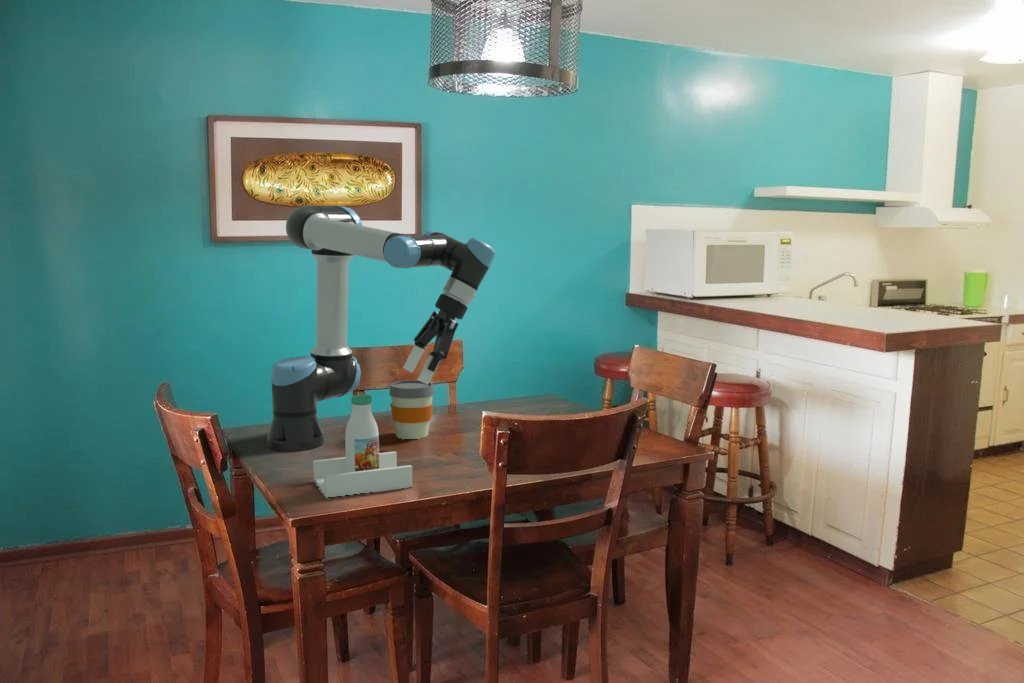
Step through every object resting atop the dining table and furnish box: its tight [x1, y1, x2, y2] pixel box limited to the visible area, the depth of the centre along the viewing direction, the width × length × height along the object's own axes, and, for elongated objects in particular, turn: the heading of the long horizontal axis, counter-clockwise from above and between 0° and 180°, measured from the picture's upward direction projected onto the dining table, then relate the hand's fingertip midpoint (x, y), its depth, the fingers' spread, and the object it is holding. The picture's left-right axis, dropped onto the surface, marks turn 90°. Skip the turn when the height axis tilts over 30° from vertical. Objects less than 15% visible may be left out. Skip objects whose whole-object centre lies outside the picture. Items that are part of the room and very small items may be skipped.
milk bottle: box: [344, 394, 380, 473], centre depth 191 cm, size 8×8×20 cm
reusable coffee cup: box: [389, 379, 435, 440], centre depth 234 cm, size 13×12×15 cm
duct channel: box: [312, 451, 413, 499], centre depth 192 cm, size 13×20×5 cm
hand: (414, 376), depth 201 cm, fingers open, 13 cm apart
